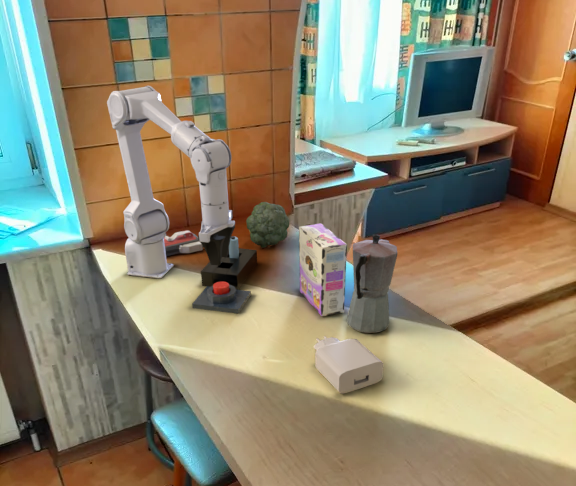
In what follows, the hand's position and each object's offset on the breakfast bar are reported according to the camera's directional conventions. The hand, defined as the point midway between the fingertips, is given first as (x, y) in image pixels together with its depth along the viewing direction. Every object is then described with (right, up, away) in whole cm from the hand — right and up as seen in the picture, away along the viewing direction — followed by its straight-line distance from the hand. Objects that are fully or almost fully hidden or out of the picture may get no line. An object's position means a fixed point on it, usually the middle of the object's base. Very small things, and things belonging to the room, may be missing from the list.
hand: (219, 260), depth 130 cm
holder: (+1, -2, +18) cm, 18 cm away
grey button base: (0, -9, +5) cm, 10 cm away
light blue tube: (+2, 0, +20) cm, 20 cm away
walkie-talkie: (-12, +7, +33) cm, 36 cm away
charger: (+25, -22, -18) cm, 38 cm away
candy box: (+23, -9, +5) cm, 25 cm away
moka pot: (+32, -14, -5) cm, 36 cm away
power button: (0, -7, +4) cm, 8 cm away
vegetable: (+9, +9, +36) cm, 38 cm away
